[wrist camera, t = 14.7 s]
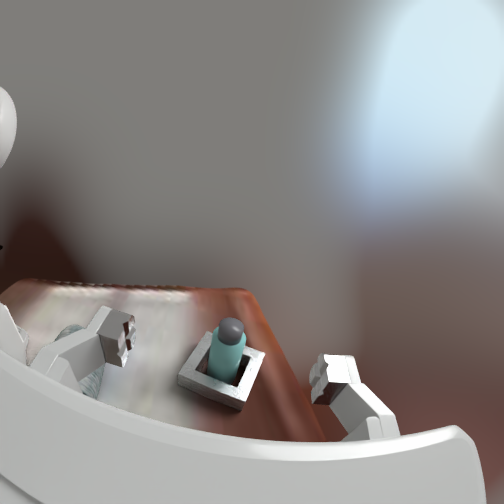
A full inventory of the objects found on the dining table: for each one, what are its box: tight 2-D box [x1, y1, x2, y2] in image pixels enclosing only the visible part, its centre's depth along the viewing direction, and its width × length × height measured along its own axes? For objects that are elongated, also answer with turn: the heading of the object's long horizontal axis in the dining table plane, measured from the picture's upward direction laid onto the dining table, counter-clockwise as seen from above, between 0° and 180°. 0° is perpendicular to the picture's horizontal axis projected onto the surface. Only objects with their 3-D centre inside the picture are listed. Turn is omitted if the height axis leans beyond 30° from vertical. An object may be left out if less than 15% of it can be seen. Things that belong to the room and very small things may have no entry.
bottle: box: [207, 318, 246, 385], centre depth 37 cm, size 4×4×11 cm
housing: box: [178, 331, 265, 411], centre depth 39 cm, size 10×10×3 cm
